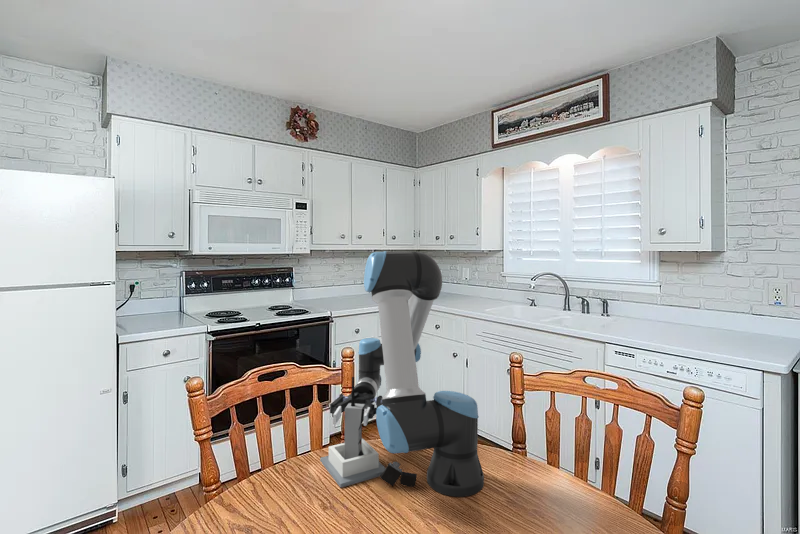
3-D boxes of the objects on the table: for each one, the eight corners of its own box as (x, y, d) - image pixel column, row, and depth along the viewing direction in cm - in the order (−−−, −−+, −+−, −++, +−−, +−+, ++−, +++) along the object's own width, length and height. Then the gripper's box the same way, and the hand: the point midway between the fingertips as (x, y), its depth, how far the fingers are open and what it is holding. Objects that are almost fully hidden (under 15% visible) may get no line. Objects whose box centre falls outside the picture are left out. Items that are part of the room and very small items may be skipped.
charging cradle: (388, 473, 113) (388, 454, 113) (340, 487, 106) (340, 467, 106) (363, 450, 127) (363, 433, 127) (320, 461, 120) (320, 443, 120)
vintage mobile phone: (361, 467, 114) (361, 379, 113) (344, 466, 115) (344, 378, 114) (364, 460, 118) (365, 375, 117) (348, 459, 119) (348, 374, 118)
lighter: (408, 491, 109) (419, 474, 109) (408, 496, 107) (420, 479, 107) (380, 473, 109) (392, 456, 109) (380, 478, 107) (392, 460, 107)
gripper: (395, 405, 133) (387, 435, 110) (333, 402, 135) (312, 432, 112) (395, 382, 133) (387, 407, 110) (333, 380, 135) (312, 405, 112)
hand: (349, 420), depth 111 cm, fingers open, 8 cm apart
